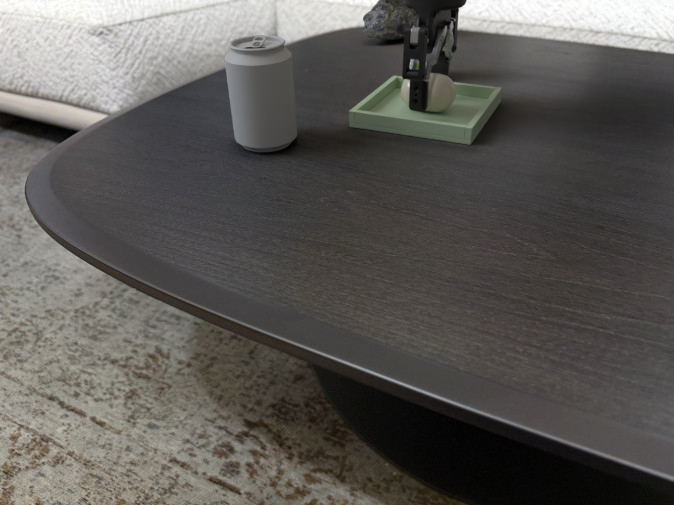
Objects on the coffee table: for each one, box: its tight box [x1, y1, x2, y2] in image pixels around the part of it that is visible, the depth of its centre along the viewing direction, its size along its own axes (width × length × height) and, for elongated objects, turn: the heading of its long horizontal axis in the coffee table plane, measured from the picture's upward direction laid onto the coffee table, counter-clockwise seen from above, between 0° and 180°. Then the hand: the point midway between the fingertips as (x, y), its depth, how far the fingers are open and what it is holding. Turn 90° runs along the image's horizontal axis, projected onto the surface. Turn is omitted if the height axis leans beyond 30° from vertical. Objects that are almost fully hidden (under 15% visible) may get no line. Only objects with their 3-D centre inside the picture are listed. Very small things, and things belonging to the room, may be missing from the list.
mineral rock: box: [362, 0, 417, 41], centre depth 110 cm, size 13×11×10 cm
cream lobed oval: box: [401, 73, 456, 112], centre depth 77 cm, size 7×5×5 cm, turn 65°
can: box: [224, 34, 298, 153], centre depth 69 cm, size 8×8×12 cm
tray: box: [348, 74, 503, 146], centre depth 78 cm, size 16×16×2 cm
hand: (428, 99), depth 78 cm, fingers open, 8 cm apart
